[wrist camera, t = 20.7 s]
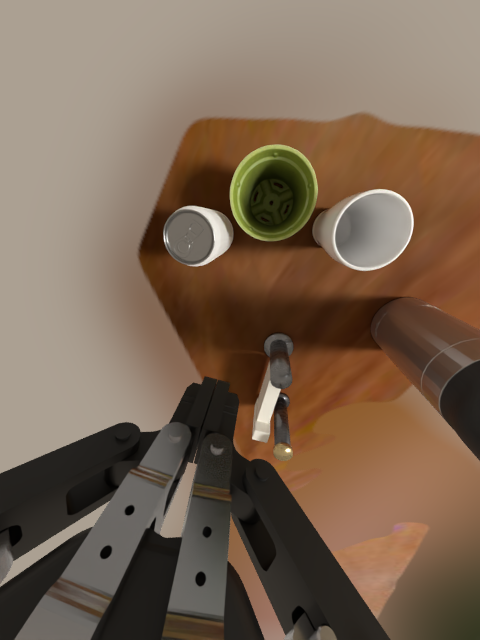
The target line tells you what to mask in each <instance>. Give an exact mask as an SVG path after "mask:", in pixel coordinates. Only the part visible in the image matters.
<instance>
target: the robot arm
mask: <svg viewBox="0 0 480 640" xmlns="http://www.w3.org/2000/svg"><path fill="white" fill-rule="evenodd" d="M371 334H372V337H373V339H374V341H375V342H376V343H377V344H378V345H379V346H380V348H381V349H382V350H383V351H384V352H385V353H386V355H387V356H388V357H389V358H390V359H391V360H392V361H393V362H394V364H395V365H396V366H397V367H398V368H399V369H400V370H401V371H402V373H403V374H404V375H405V376H406V377H407V378H408V379H409V380H410V381H411V383H412V384H413V385H414V386H415V387H416V388H417V389H418V390H419V392H421V394H422V395H423V396H424V397H425V398H426V399H427V400H428V401H429V403H430V404H431V405H432V406H433V407H434V408H435V409H436V410H437V411H438V413H439V414H440V415H441V416H442V417H443V418H444V419H445V420H446V421H447V423H448V424H449V425H450V426H451V427H452V428H453V429H454V430H455V431H456V433H457V434H458V436H459V437H460V438H461V440H462V441H463V442H464V443H465V444H466V445H467V447H468V448H469V449H470V450H471V451H472V452H473V454H474V455H475V456H476V457H477V458H478V459H479V460H480V330H479V329H477V328H475V327H473V326H471V325H469V324H467V323H465V322H463V321H461V320H459V319H457V318H455V317H453V316H451V315H449V314H448V313H446V312H444V311H442V310H440V309H438V308H436V307H434V306H432V305H430V304H428V303H426V302H424V301H422V300H420V299H417V298H412V297H404V298H399V299H396V300H393V301H391V302H389V303H387V304H385V305H384V306H383V307H382V308H380V309H379V311H378V312H377V313H376V314H375V316H374V318H373V320H372V323H371ZM216 383H217V385H216ZM229 386H230V383H228V382H225V381H221V380H218V382H217V379H213V378H210V377H206V376H205V377H204V380H203V382H202V384H201V385H200V384H197V383H192V384H191V385H190V386H189V387H187V389H186V391H185V393H184V395H183V397H182V399H181V401H180V403H179V405H178V407H177V409H176V411H175V413H174V415H173V417H172V419H171V421H170V422H169V424H167V425H165V426H164V427H163V428H162V429H161V430H159V431H154V432H140V429H139V427H138V426H136V425H135V424H133V423H127V422H125V423H119V424H116V425H114V426H112V427H109V428H107V429H104V430H102V431H100V432H98V433H95V434H93V435H90V436H88V437H86V438H83V439H81V440H78V441H76V442H74V443H71V444H69V445H67V446H64V447H62V448H60V449H57V450H55V451H52V452H50V453H48V454H45V455H43V456H41V457H38V458H36V459H34V460H31V461H29V462H27V463H24V464H22V465H19V466H17V467H15V468H12V469H10V470H8V471H5V472H3V473H1V474H0V583H1V582H2V581H3V579H4V578H5V577H6V575H7V574H8V572H9V570H10V568H11V566H12V563H13V561H14V560H16V559H18V558H19V557H21V556H22V555H24V554H26V553H27V552H29V551H30V550H32V549H33V548H35V547H37V546H38V545H40V544H41V543H43V542H45V541H46V540H48V539H49V538H51V537H52V536H54V535H56V534H57V533H59V532H60V531H62V530H64V529H65V528H67V527H68V526H70V525H72V524H73V523H75V522H76V521H78V520H80V519H81V518H83V517H84V516H86V515H88V514H89V513H91V512H92V511H94V510H96V509H97V508H99V507H100V506H102V505H104V504H105V503H106V502H108V501H110V502H109V504H108V505H107V506H106V508H105V509H104V511H103V513H102V514H101V516H100V517H99V519H98V520H97V522H96V523H95V525H94V527H91V528H89V529H86V530H84V531H82V532H80V533H78V534H76V535H75V536H73V537H72V538H70V539H68V540H67V541H65V542H64V543H63V544H61V545H60V546H58V547H57V548H56V549H54V550H53V551H51V552H50V553H48V554H47V555H45V556H44V557H43V558H41V559H40V560H38V561H37V562H36V563H34V564H33V565H31V566H30V567H29V568H27V569H25V570H24V571H23V572H21V573H20V574H18V575H17V576H15V577H14V578H12V579H11V580H10V581H8V582H7V583H5V584H4V585H3V586H1V587H0V640H264V637H263V634H262V632H261V629H260V626H259V624H258V621H257V619H256V616H255V613H254V611H253V608H252V605H251V603H250V600H249V597H248V595H247V592H246V590H245V587H244V585H243V583H242V581H241V579H240V577H239V575H238V573H237V572H236V570H235V569H234V567H233V566H232V565H231V564H230V563H229V561H228V547H229V532H230V516H231V515H232V519H233V521H234V524H235V526H236V528H237V530H238V532H239V534H240V537H241V539H242V541H243V543H244V545H245V548H246V550H247V552H248V554H249V556H250V558H251V561H252V563H253V565H254V567H255V569H256V572H257V574H258V576H259V578H260V580H261V582H262V585H263V587H264V589H265V591H266V593H267V596H268V598H269V600H270V602H271V604H272V606H273V609H274V611H275V613H276V615H277V617H278V620H279V622H280V624H281V626H282V628H283V631H284V633H285V635H286V637H285V639H284V640H390V638H389V637H388V636H387V634H386V633H385V631H384V630H383V628H382V627H381V625H380V624H379V622H378V621H377V619H376V618H375V616H374V615H373V613H372V612H371V610H370V609H369V607H368V606H367V605H366V603H365V602H364V600H363V599H362V597H361V596H360V594H359V593H358V591H357V590H356V588H355V587H354V585H353V584H352V582H351V581H350V579H349V578H348V576H347V575H346V574H345V572H344V571H343V569H342V568H341V566H340V565H339V563H338V562H337V560H336V559H335V557H334V556H333V554H332V553H331V551H330V550H329V549H328V547H327V546H326V544H325V543H324V541H323V540H322V538H321V537H320V535H319V534H318V532H317V531H316V529H315V528H314V527H313V525H312V523H311V522H310V521H309V519H308V517H307V516H306V515H305V513H304V512H303V510H302V509H301V507H300V506H299V504H298V503H297V501H296V500H295V498H294V497H293V495H292V494H291V492H290V491H289V489H288V488H287V486H286V485H285V483H284V482H283V481H282V479H281V478H280V476H279V475H278V473H277V472H276V470H275V469H274V467H273V466H272V465H271V464H270V463H268V462H267V461H265V460H262V459H254V460H252V461H249V460H247V459H245V458H244V457H242V456H241V455H240V454H239V453H238V452H237V451H236V450H235V447H234V444H233V436H234V430H235V424H236V418H237V412H238V406H239V399H238V396H237V394H234V393H230V392H228V390H229ZM215 387H216V388H215ZM196 451H197V453H196ZM195 454H196V457H195ZM194 457H195V461H194V463H195V464H197V467H196V471H195V475H194V479H193V483H192V488H191V492H190V497H189V501H188V506H187V511H186V515H185V520H184V524H183V529H182V533H181V537H176V538H164V537H162V536H161V535H159V534H160V531H161V527H162V524H163V522H164V519H165V517H166V515H167V512H168V510H169V507H170V505H171V503H172V501H173V498H174V495H175V493H176V491H177V489H178V486H179V484H180V482H181V479H182V476H183V474H184V472H185V469H186V466H187V464H188V462H191V463H193V460H194Z"/></svg>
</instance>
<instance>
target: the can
mask: <svg viewBox="0 0 480 640" xmlns="http://www.w3.org/2000/svg"><path fill="white" fill-rule="evenodd" d="M163 239H164V244H165V246H166V249H167V250H168V252H169V253H170V255H171V256H172V257H173V258H174V259H176V260H177V261H179V262H180V263H183V264H186V265H189V266H201V265H205V264H207V263H209V262H211V261H212V260H214V259H215V258H217V257H218V256H220V255H221V254H223V253H224V252H225V251H227V250H228V248H229V247H230V245H231V243H232V241H233V227H232V224H231V222H230V221H229V219H228V218H227V217H226V216H225V215H224V214H222V213H221V212H219V211H216V210H212V209H207V208H203V207H198V206H186V207H182V208H180V209H178V210H177V211H175V212H174V213H173V214H172V215H171V216H170V217H169V218H168V220H167V221H166V223H165V226H164V230H163Z"/></svg>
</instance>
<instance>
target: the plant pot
mask: <svg viewBox="0 0 480 640" xmlns="http://www.w3.org/2000/svg"><path fill="white" fill-rule="evenodd" d="M274 183H279V184H281V185H282V186H283V188H280V187H278V186H275V185H274ZM257 192H259V193H258V196H257V198H256V202H254V197H255V194H256V193H257ZM317 192H318V187H317V180H316V175H315V172H314V170H313V168H312V166H311V164H310V162H309V161H308V160H307V158H306V157H305V156H304V155H303V154H301V153H300V152H299V151H297V150H295V149H293V148H291V147H288V146H284V145H268V146H264V147H261V148H259V149H257V150H255V151H253V152H251V153H250V154H249V155H248V156H246V157H245V158H244V159H243V161H242V162H241V163H240V164H239V166H238V167H237V169H236V171H235V173H234V176H233V179H232V182H231V186H230V204H231V209H232V212H233V215H234V217H235V219H236V221H237V223H238V224H239V226H240V227H241V228H242V229H243V230H244V231H245V232H246V233H247V234H249V235H250V236H252V237H254V238H256V239H259V240H263V241H279V240H283V239H286V238H288V237H290V236H292V235H294V234H295V233H297V232H298V231H299V230H300V229H301V228H302V227H303V226H304V225H305V224H306V223H307V221H308V220H309V218H310V216H311V215H312V212H313V210H314V207H315V204H316V200H317ZM270 201H273V204H272V205H270ZM287 204H289V208H288V212H287V213H286V214H284V212H285V210H286V207H287ZM261 217H263V218H265V219H267V220H270V221H269V222H266V221H263V220H261Z"/></svg>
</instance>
